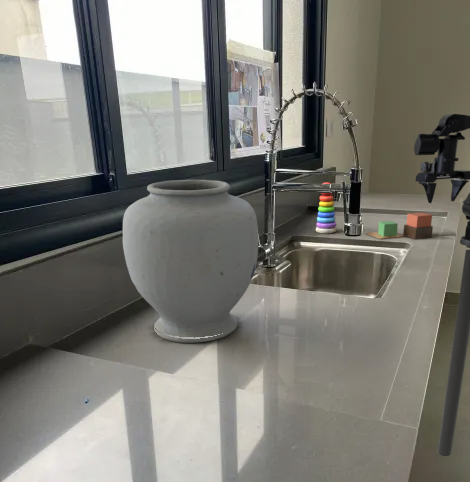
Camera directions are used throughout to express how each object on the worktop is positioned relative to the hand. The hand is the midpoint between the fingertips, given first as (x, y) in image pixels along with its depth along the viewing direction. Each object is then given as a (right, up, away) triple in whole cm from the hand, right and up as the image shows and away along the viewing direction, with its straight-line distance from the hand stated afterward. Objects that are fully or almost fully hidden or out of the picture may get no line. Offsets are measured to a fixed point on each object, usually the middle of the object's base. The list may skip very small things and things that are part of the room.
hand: (441, 202), depth 170 cm
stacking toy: (-36, -7, +22) cm, 42 cm away
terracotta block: (-5, -6, +9) cm, 12 cm away
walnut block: (-5, -10, +10) cm, 15 cm away
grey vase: (-79, -41, -64) cm, 110 cm away
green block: (-15, -9, +12) cm, 21 cm away
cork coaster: (-15, -9, +14) cm, 22 cm away
